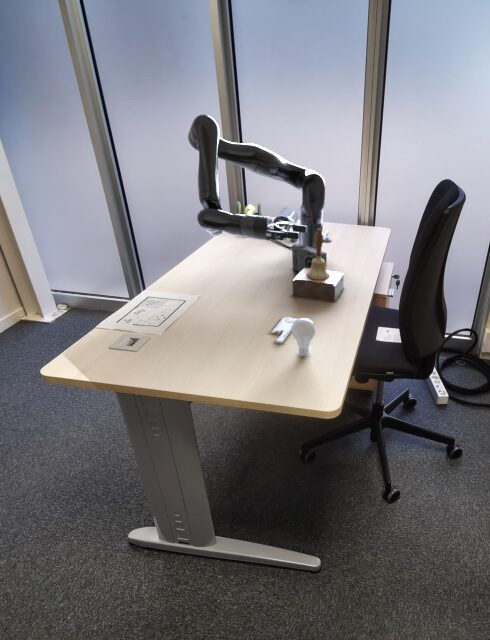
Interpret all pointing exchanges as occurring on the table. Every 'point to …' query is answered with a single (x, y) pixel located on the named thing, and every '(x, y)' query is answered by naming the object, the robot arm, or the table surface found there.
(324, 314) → the table surface
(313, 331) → the lightbulb
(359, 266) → the table surface
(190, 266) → the table surface
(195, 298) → the table surface
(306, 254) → the camera
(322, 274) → the hand bell
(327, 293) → the block
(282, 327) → the white cleaver
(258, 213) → the cannon
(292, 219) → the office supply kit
